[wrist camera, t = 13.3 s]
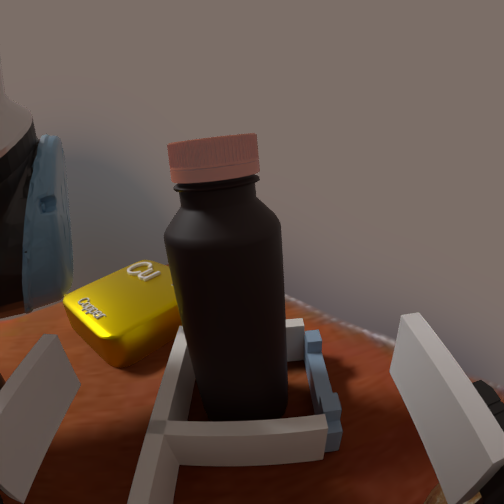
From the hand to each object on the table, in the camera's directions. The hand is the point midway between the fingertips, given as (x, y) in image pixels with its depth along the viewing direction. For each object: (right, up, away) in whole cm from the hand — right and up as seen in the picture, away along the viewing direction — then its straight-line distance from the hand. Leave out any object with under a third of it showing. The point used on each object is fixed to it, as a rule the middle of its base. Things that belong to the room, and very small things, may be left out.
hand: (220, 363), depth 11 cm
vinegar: (+1, -9, +13) cm, 16 cm away
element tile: (-13, -5, +27) cm, 30 cm away
